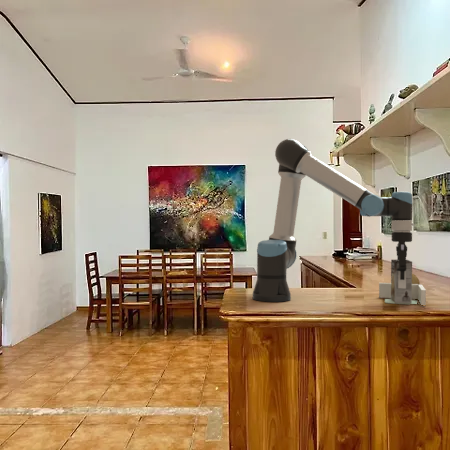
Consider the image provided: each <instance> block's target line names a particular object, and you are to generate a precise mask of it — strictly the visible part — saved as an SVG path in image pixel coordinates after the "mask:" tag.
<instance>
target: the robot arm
mask: <svg viewBox="0 0 450 450" xmlns="http://www.w3.org/2000/svg"><path fill="white" fill-rule="evenodd" d="M274 152H275V155H274V156H275V159H276V161H277V163H278V170H277V171H278V175H279V176H280V182H279V189H278V198H277V204H276V212H275V219H274V225H273V226H274V227H273V232H272V234H271V235H269V236H268V239H266V240H265V239H264V240H261V241H259V242H258V243H257V249H256V252H257V254H256V255H257V257H256V259H257V260H256V262H257V263H256V268H257V269H256V272H257V273H256V282H255V285H254V288H253V292H252V300H254V301H258V302H270V303H272V302H273V303H275V302H276V303H280V302H288V301H291V299H292V297H291V296H292V295H291V290H290V287H289V285H288V282H287V269H289V268H291V267H292V266H293V265H294V264H295V262H296V260H297V250H296V247H297V239H296V238H295V236H294V234H295V225H296V221H297V220H296V219H297V213H298V206H299V200H300V199H299V198H300V190H301V184H302V180H303V179H304V178H305V177H306V176H307V178H309V179H311V180H313V181H314V182H316V183H317V184H319V185H321V186H322V187H324V188H325V189H327V190H328V191H330V192H332V193H334V194H335V195H336V196H338V197H340V198H341V199H343V200H345V201H347V202H348V203H349V204H351V205H353V206H354V207H356V208H357V209H358V210H359V213H360V216H362V217H369V218H370V217H391V229H390V230H391V231H392V232H391V242H393V243H394V242H395V243H397V245H396V246H395V250H396V256H397V259H396V260H399V268H397V271H398V288H403V289H406V269H407V268H406V260H407V256H408V246H407V244H406V243H412V241H413V233H412V232H411V231H413V226H414V225H415V224H414V222H413V194H412V193H411V192H409V191H393V192H392V193H391V196H389V197H385V196H384V197H383V196H382V197H381V196H379V195H377V194H375V193H373V192H372V191H369V190H368V189H366V188H365V187H363V186H362V185H360V184H359V183H357V182H355V181H353V180H352V179H350V178H349V177H347V176H345V174H342V173H341V172H339V171H337V170H336V169H335V168H333V167H331V166H329V165H328V164H326V163H325V162H323V161H321V160H319V159H318V158H316V157H314V156H313V155H312V152H311V151H310V150H308V148H307V146H305V145H304V144H302V143H301V142H299V141H298V140H296V139H293V138H287V139H284V140H281V141H280V142H279V143H278V144H277V146H276V148H275V151H274Z"/></svg>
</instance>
